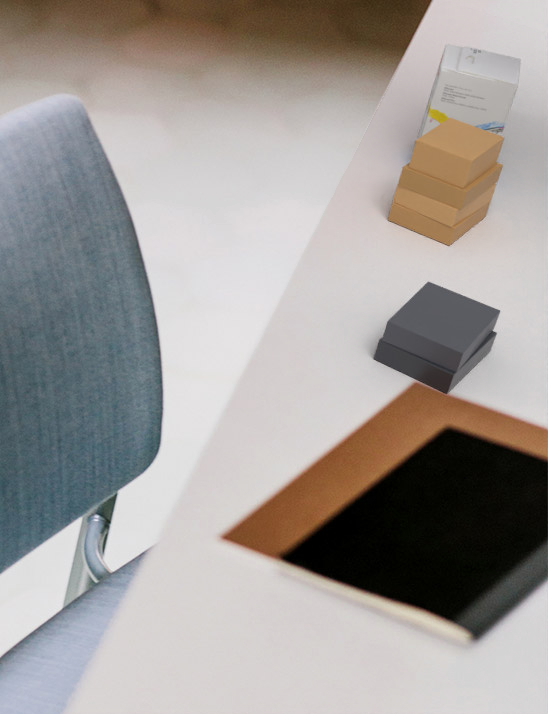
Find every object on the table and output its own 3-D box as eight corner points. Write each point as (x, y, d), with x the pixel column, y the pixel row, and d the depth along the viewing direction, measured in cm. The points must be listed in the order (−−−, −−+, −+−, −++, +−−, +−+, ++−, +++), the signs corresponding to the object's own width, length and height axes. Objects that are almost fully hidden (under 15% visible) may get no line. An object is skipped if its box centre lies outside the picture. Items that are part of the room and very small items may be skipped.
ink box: (486, 186, 131) (521, 83, 124) (409, 169, 132) (439, 66, 125) (489, 155, 137) (522, 56, 130) (416, 139, 139) (445, 40, 131)
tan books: (486, 217, 125) (504, 164, 121) (449, 247, 119) (467, 192, 115) (424, 192, 128) (440, 140, 124) (385, 220, 122) (400, 166, 118)
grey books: (491, 350, 105) (505, 312, 102) (447, 394, 99) (461, 355, 97) (417, 317, 108) (430, 279, 106) (370, 357, 102) (382, 318, 100)
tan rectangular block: (495, 164, 121) (504, 137, 119) (463, 189, 116) (472, 160, 114) (442, 144, 124) (450, 117, 122) (408, 167, 118) (416, 139, 117)
